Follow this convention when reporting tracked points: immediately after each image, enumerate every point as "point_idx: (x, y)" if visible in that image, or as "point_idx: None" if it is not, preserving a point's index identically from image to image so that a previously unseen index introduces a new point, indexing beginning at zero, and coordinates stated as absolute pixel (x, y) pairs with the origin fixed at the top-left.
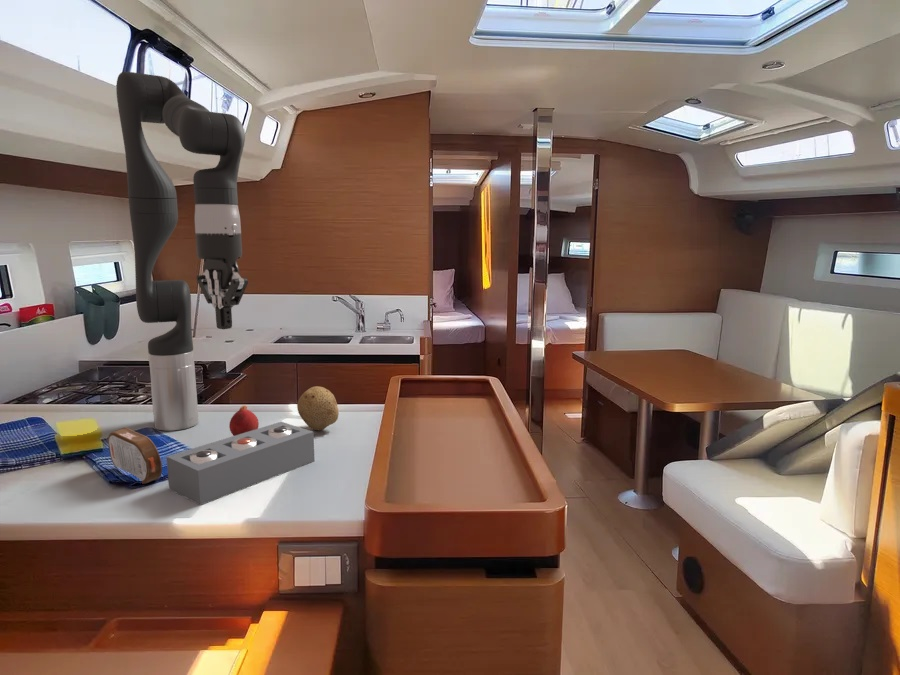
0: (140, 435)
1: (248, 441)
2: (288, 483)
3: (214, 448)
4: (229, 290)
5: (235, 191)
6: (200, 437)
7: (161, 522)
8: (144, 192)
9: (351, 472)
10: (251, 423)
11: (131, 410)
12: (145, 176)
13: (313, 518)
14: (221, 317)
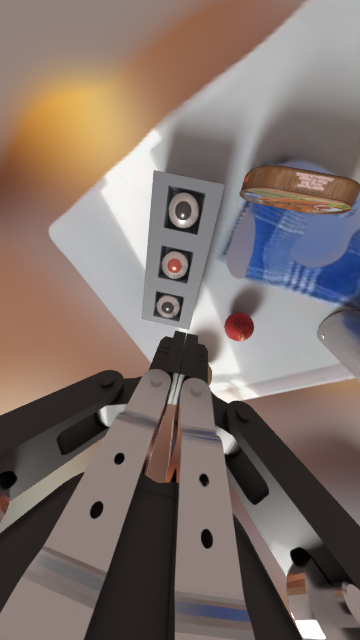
0: (291, 191)
1: (167, 265)
2: (133, 260)
3: (191, 237)
4: (9, 434)
5: None
6: (289, 311)
7: (165, 121)
8: None
9: (110, 300)
10: (226, 325)
11: None
12: None
13: (66, 215)
14: (169, 352)
